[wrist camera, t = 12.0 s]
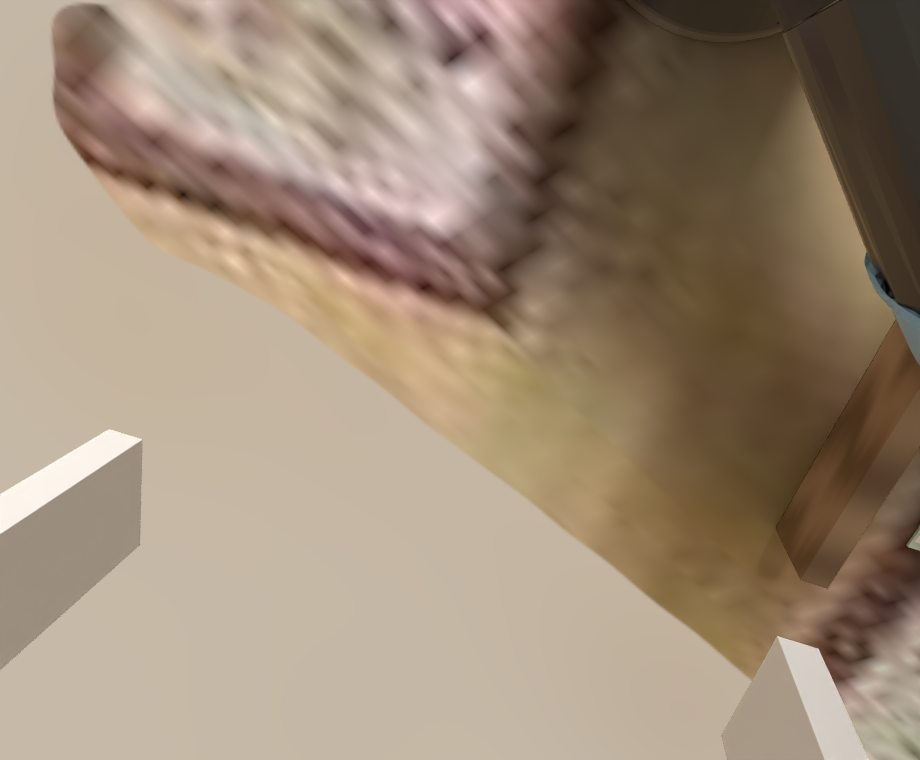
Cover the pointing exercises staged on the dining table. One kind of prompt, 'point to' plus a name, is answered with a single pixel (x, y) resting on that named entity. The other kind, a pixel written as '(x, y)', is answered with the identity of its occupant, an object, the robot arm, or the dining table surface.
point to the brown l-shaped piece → (856, 464)
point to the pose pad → (915, 540)
